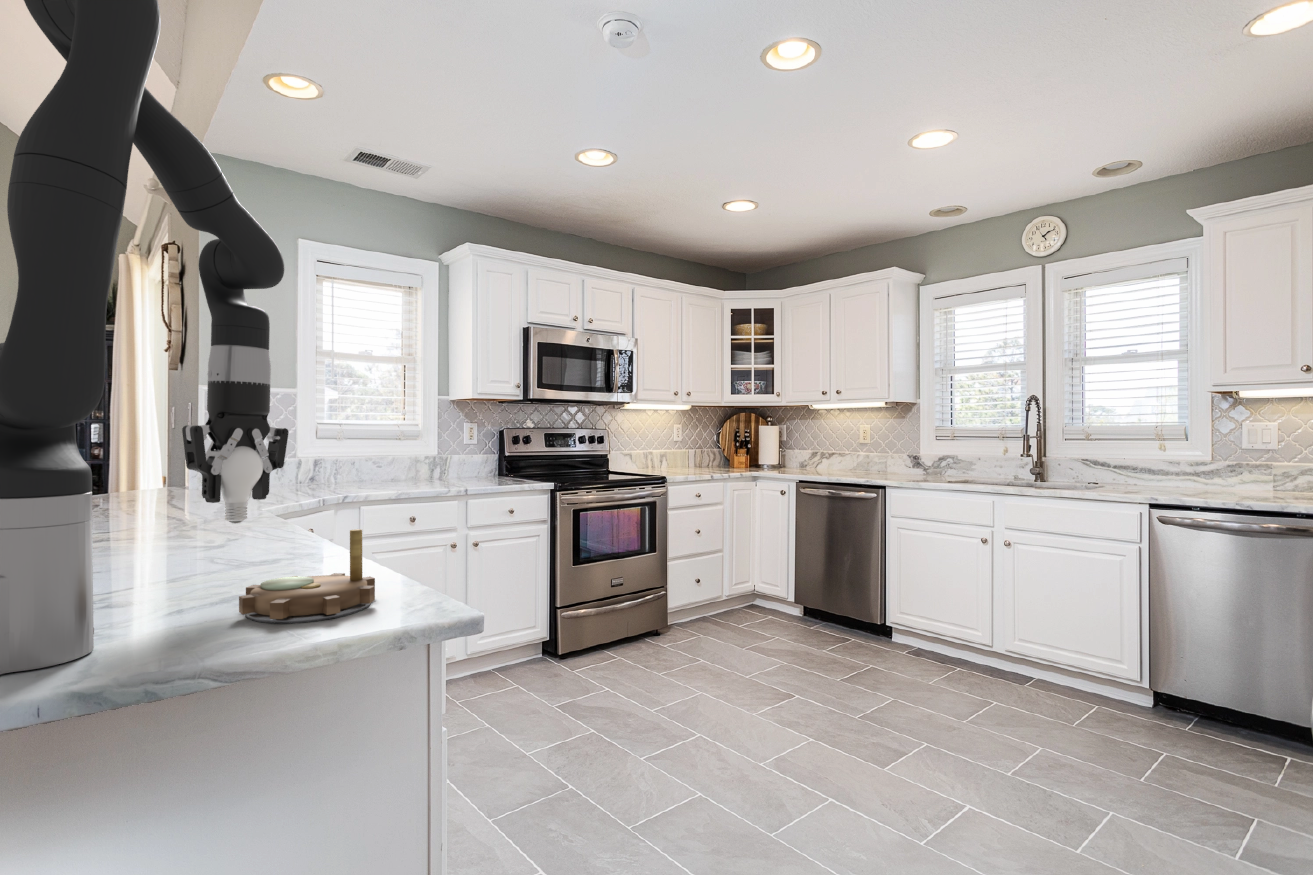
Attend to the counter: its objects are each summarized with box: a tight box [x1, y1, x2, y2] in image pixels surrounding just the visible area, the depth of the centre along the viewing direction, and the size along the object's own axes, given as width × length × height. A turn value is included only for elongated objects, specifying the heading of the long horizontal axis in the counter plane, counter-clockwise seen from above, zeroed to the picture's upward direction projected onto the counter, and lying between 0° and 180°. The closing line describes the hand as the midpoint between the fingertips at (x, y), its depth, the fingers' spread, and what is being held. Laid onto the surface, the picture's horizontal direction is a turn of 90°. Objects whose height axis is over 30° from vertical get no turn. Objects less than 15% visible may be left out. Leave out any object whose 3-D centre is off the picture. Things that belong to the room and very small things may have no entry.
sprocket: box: [238, 528, 376, 619], centre depth 92 cm, size 17×17×9 cm
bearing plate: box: [245, 602, 372, 625], centre depth 92 cm, size 15×15×1 cm
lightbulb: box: [212, 446, 263, 525], centre depth 96 cm, size 6×6×11 cm
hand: (236, 500), depth 96 cm, fingers closed on lightbulb, 6 cm apart
